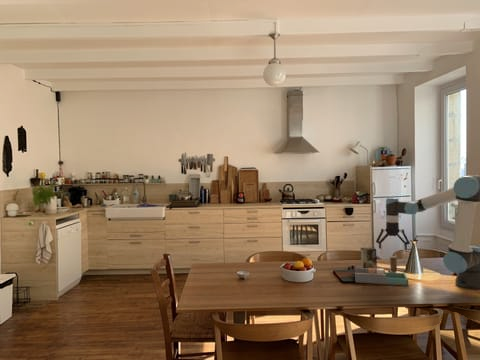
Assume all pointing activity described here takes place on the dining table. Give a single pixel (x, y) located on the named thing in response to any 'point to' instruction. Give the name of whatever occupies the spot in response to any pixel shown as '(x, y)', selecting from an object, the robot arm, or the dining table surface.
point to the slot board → (369, 276)
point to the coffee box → (368, 258)
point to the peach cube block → (371, 270)
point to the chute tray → (396, 278)
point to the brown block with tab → (393, 264)
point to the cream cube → (380, 271)
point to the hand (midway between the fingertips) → (392, 254)
